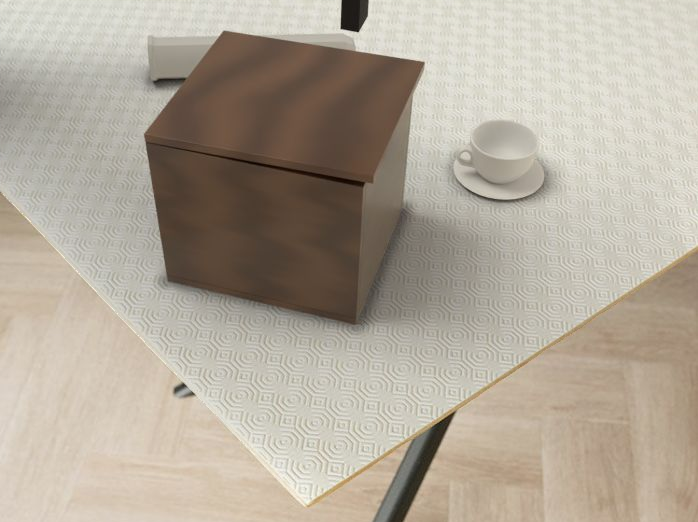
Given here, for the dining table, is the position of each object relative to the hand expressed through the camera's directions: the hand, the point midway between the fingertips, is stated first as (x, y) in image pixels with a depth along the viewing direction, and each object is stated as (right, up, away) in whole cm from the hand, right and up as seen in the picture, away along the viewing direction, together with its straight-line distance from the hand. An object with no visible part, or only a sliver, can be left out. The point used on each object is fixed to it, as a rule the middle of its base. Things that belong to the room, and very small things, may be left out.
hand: (354, 22), depth 72 cm
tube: (-12, +8, +40) cm, 43 cm away
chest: (-6, -15, +19) cm, 25 cm away
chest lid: (-5, -4, +7) cm, 10 cm away
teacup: (+16, -7, +28) cm, 33 cm away
